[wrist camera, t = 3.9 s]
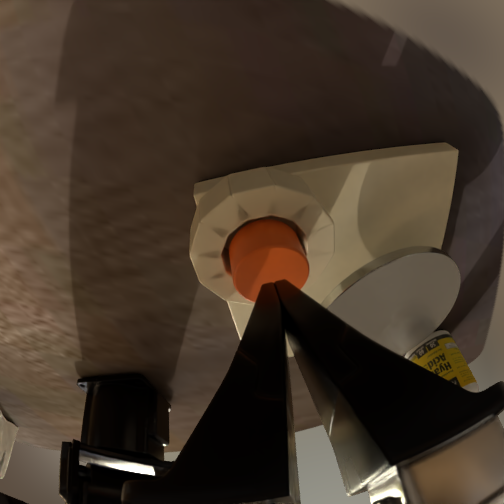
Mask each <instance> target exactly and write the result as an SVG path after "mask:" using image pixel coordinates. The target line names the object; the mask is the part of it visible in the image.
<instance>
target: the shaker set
mask: <svg viewBox="0 0 504 504" xmlns="http://www.w3.org/2000/svg"><path fill="white" fill-rule="evenodd" d="M17 431H18V428H17V427H16V426H15V425H14V424H13V423H11V422H9V421H7V420H6V419H5V418H4V416H3V415H2V412H1V410H0V479H2V478H3V477H4V475H5V472H6V469H7V466H8V462H9V459H10V455H11V451H12V448H13V444H14V441H15V438H16V434H17Z"/></svg>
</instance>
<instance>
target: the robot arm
mask: <svg viewBox="0 0 504 504" xmlns="http://www.w3.org/2000/svg"><path fill="white" fill-rule="evenodd" d="M286 337H287V340H288V342H289V345H290V347H291V349H292V352H293V354H294V357H295V359H296V361H297V364H298V366H299V368H300V371H301V373H302V376H303V378H304V380H305V383H306V385H307V387H308V390H309V392H310V394H311V397H312V399H313V402H314V404H315V406H316V409H317V411H318V413H319V416H320V418H321V420H322V423H323V425H324V428H325V430H326V432H327V435H328V437H329V439H330V442H331V444H332V447H333V450H334V453H335V456H336V459H337V462H338V466H339V469H340V472H341V476H342V479H343V483H344V486H345V489H346V493H347V496H348V497H350V496H353V495H356V494H359V493H362V492H365V491H368V493H369V497H370V500H371V504H504V428H503V426H502V424H501V422H500V420H499V418H498V415H499V414H500V413H501V412H502V411H503V410H504V382H503V381H500V382H498V383H496V384H494V385H493V386H491V387H489V388H488V389H486V390H484V391H482V392H471V391H468V390H466V389H464V388H462V387H460V386H458V385H456V384H454V383H452V382H450V381H448V380H447V379H445V378H443V377H441V376H439V375H437V374H435V373H433V372H431V371H429V370H427V369H426V368H424V367H422V366H420V365H418V364H416V363H414V362H412V361H410V360H409V359H407V358H405V357H403V356H401V355H399V354H397V353H395V352H394V351H392V350H390V349H388V348H386V347H384V346H382V345H381V344H379V343H377V342H375V341H374V340H372V339H370V338H368V337H367V336H365V335H364V334H362V333H361V332H359V331H358V330H356V329H355V328H353V327H352V326H351V325H349V324H347V323H346V322H345V321H343V320H342V319H340V318H339V317H338V316H336V315H335V314H333V313H332V312H331V311H329V310H328V309H326V308H325V307H324V306H322V305H321V304H320V303H318V302H317V301H315V300H314V299H313V298H311V297H310V296H308V295H307V294H306V293H304V292H303V291H301V290H300V289H299V288H297V287H296V286H295V285H293V284H292V283H290V282H289V281H288V280H286V279H282V280H278V281H275V282H274V283H273V282H269V283H265V284H262V286H261V288H260V291H259V294H258V296H257V299H256V302H255V304H254V307H253V310H252V312H251V315H250V318H249V320H248V323H247V325H246V328H245V331H244V333H243V336H242V339H241V341H240V344H239V346H238V349H237V351H236V353H235V356H234V359H233V361H232V363H231V366H230V368H229V370H228V372H227V374H226V376H225V378H224V380H223V382H222V383H221V385H220V387H219V389H218V390H217V392H216V394H215V396H214V397H213V399H212V401H211V402H210V404H209V406H208V407H207V409H206V411H205V413H204V414H203V416H202V418H201V419H200V421H199V423H198V424H197V426H196V428H195V429H194V431H193V433H192V434H191V436H190V437H189V439H188V441H187V442H186V444H185V446H184V447H183V449H182V451H181V452H180V454H179V455H178V457H177V459H176V460H175V461H172V462H170V461H164V446H168V444H169V411H171V405H170V404H169V403H168V402H167V401H166V400H165V399H164V398H163V397H162V396H161V394H160V393H159V392H158V391H157V390H156V389H155V388H154V387H153V386H152V385H151V384H150V382H149V381H148V380H147V379H146V378H145V377H144V376H143V375H141V374H130V375H120V376H109V377H97V378H82V379H78V381H77V385H78V386H79V387H80V388H81V389H82V390H83V391H84V392H86V393H87V396H86V402H85V409H84V416H83V424H82V433H81V442H80V441H78V440H74V439H73V441H72V443H71V442H62V448H61V458H60V471H59V472H60V473H59V474H60V475H59V495H60V497H61V498H62V499H63V500H64V501H65V504H301V502H300V490H299V478H298V467H297V456H296V443H295V430H294V417H293V405H292V394H291V382H290V371H289V361H288V350H287V341H286ZM79 461H82V462H86V463H87V465H86V466H83V465H79ZM0 504H27V503H25V502H23V501H21V500H18V499H15V498H13V497H11V496H8V495H6V494H3V493H1V492H0Z"/></svg>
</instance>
